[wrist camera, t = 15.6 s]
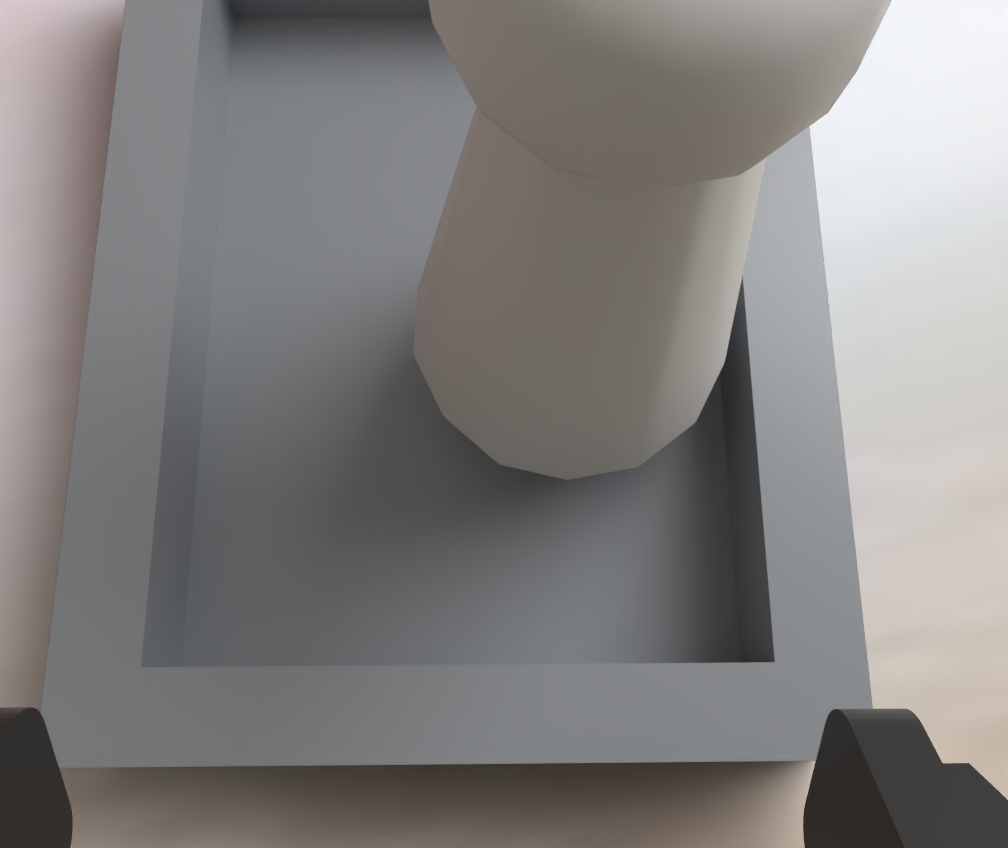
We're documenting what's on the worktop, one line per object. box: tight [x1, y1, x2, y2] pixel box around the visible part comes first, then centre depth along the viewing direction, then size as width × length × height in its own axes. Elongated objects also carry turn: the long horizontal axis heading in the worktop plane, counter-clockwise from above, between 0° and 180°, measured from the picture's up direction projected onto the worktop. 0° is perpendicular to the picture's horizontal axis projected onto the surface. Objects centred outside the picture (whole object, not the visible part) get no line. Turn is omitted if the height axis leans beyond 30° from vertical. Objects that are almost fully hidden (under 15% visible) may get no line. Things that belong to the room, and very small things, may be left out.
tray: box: [40, 0, 873, 768], centre depth 20 cm, size 14×18×3 cm
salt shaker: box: [413, 0, 891, 480], centre depth 14 cm, size 6×6×13 cm
